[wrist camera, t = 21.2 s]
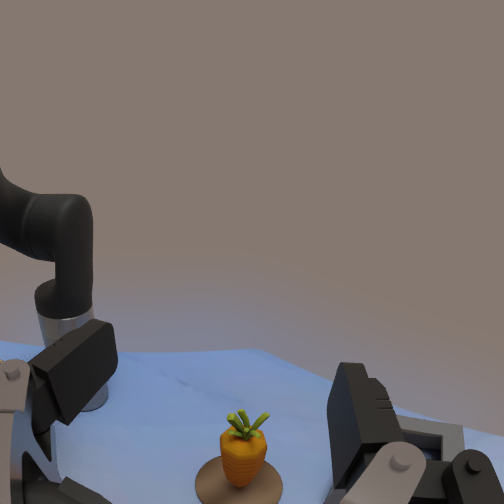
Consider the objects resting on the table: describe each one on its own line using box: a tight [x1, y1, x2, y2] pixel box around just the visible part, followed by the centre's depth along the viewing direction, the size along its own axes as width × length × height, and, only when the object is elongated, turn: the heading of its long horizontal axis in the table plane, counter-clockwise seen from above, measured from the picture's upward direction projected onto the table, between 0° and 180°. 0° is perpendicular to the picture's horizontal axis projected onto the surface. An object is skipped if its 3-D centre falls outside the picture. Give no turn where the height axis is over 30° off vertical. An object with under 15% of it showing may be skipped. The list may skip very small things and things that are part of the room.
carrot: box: [220, 409, 270, 487], centre depth 25 cm, size 5×5×15 cm
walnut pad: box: [195, 456, 283, 504], centre depth 27 cm, size 11×11×1 cm
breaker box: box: [324, 415, 465, 504], centre depth 27 cm, size 18×16×6 cm
